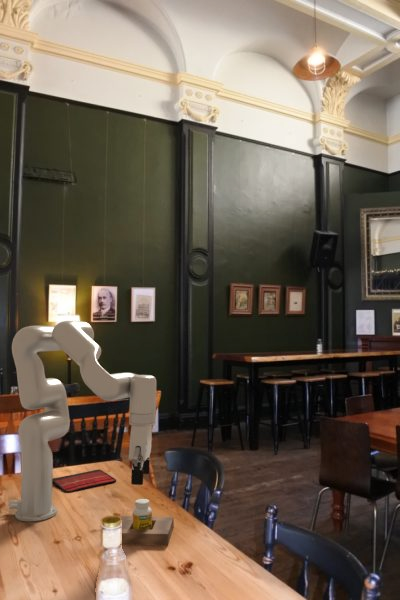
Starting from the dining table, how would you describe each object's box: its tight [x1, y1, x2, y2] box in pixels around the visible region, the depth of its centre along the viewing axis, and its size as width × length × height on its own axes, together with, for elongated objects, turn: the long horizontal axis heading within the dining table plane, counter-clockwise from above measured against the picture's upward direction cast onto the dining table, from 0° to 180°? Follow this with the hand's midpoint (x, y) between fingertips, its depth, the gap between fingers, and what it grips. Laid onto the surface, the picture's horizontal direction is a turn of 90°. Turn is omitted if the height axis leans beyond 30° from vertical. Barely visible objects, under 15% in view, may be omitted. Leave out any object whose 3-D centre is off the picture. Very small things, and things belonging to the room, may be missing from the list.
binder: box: [52, 469, 117, 494], centre depth 185 cm, size 16×2×21 cm
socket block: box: [119, 515, 175, 546], centre depth 136 cm, size 16×12×3 cm
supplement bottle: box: [132, 498, 153, 530], centre depth 136 cm, size 5×5×10 cm
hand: (140, 478), depth 137 cm, fingers open, 9 cm apart
